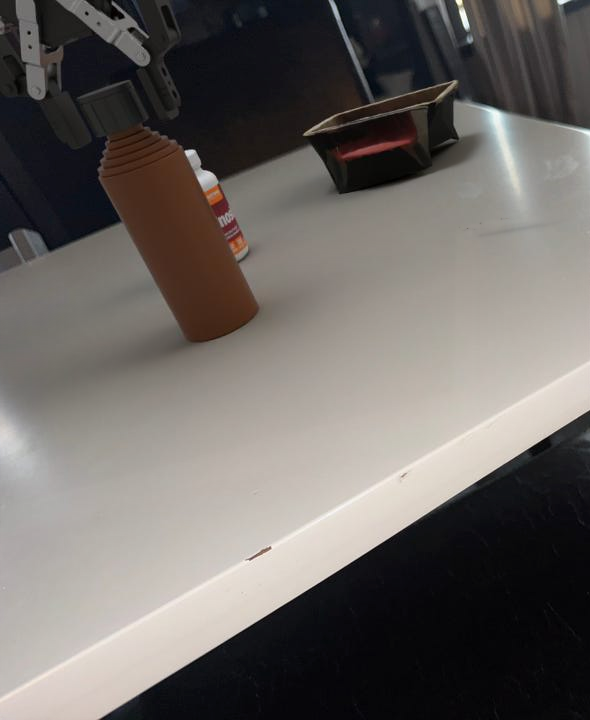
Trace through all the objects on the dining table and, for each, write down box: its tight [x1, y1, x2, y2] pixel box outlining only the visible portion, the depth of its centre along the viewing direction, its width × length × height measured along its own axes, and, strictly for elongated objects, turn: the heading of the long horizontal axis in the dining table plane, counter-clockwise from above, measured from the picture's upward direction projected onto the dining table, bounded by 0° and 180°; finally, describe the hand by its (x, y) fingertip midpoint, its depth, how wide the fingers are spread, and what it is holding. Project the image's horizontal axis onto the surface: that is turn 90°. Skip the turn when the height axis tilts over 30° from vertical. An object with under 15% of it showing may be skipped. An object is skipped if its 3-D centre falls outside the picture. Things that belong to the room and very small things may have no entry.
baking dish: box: [302, 79, 460, 195], centre depth 89 cm, size 14×18×10 cm
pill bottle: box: [184, 149, 249, 263], centre depth 76 cm, size 6×6×11 cm
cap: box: [76, 79, 150, 138], centre depth 55 cm, size 4×4×3 cm
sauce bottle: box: [97, 122, 260, 343], centre depth 60 cm, size 6×6×18 cm
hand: (126, 131), depth 56 cm, fingers open, 6 cm apart
